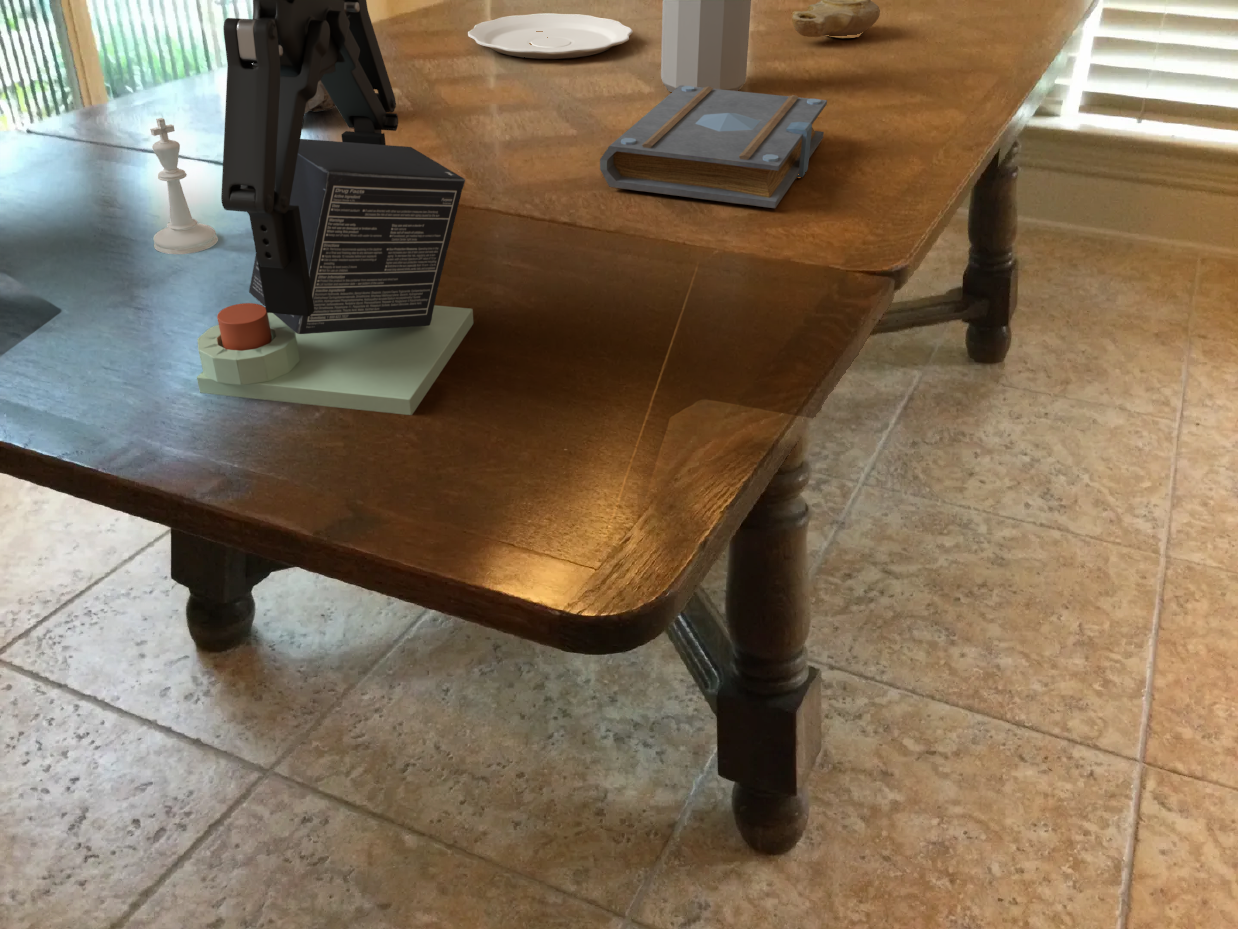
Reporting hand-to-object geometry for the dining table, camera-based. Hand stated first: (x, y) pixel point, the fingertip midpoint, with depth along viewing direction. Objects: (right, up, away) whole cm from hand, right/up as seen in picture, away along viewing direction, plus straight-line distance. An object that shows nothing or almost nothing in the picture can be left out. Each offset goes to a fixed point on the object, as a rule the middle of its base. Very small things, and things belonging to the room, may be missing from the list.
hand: (335, 267), depth 74 cm
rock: (-15, +24, +49) cm, 57 cm away
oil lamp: (+47, +44, +79) cm, 102 cm away
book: (+28, +16, +36) cm, 48 cm away
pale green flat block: (0, -5, +3) cm, 6 cm away
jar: (+28, +30, +58) cm, 71 cm away
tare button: (-5, -5, -1) cm, 7 cm away
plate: (+9, +42, +76) cm, 87 cm away
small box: (0, -3, +2) cm, 3 cm away
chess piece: (-17, +5, +19) cm, 26 cm away
